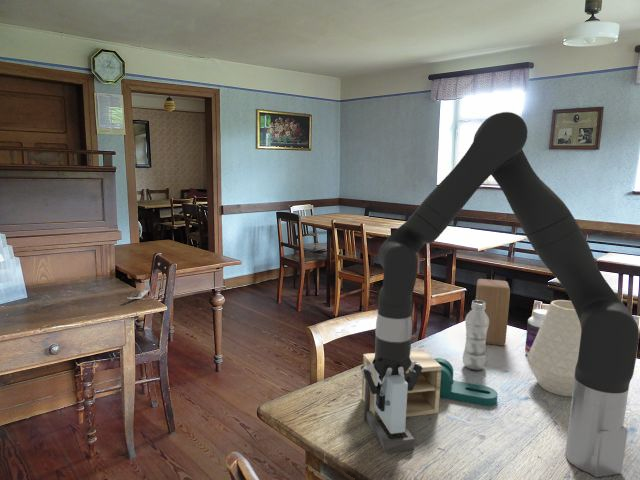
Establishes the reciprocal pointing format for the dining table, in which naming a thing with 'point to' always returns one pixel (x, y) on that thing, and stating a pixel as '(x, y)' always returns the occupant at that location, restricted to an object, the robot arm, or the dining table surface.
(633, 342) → the robot arm
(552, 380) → the vase
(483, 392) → the bracket
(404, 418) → the door
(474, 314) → the plastic bottle
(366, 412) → the wooden caddy
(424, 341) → the dining table surface
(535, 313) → the pill bottle
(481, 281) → the wooden block
